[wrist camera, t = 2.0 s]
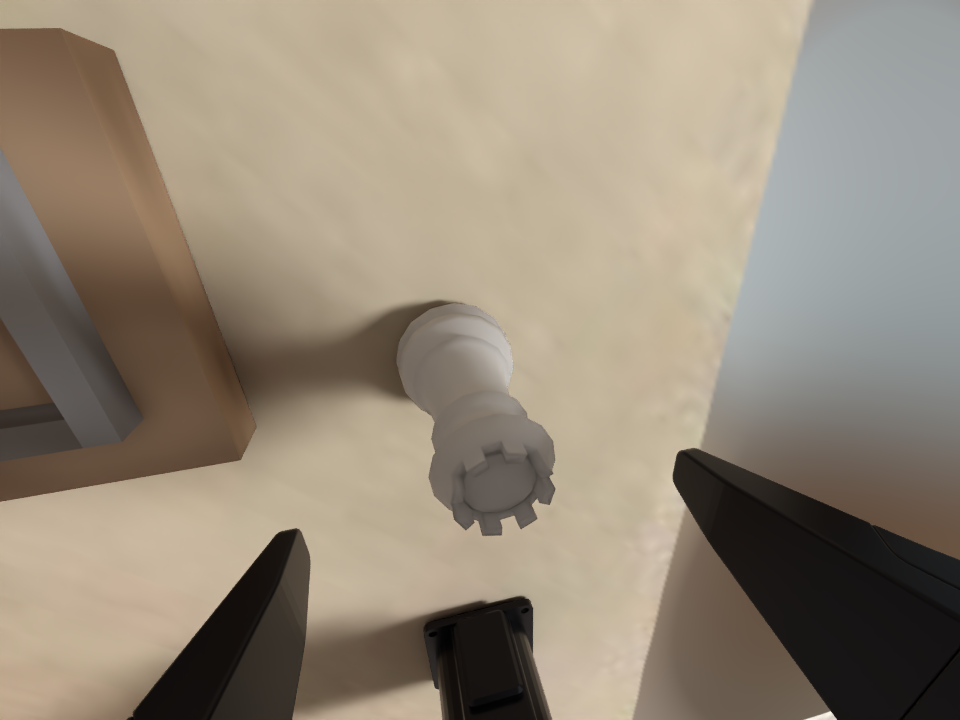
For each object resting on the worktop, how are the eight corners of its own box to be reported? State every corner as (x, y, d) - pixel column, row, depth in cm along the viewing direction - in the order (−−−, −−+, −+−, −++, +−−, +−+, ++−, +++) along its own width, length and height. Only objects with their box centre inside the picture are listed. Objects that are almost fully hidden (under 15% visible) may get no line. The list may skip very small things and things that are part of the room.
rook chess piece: (519, 372, 17) (610, 515, 10) (424, 415, 17) (453, 588, 10) (482, 280, 15) (567, 381, 8) (375, 328, 15) (368, 472, 8)
